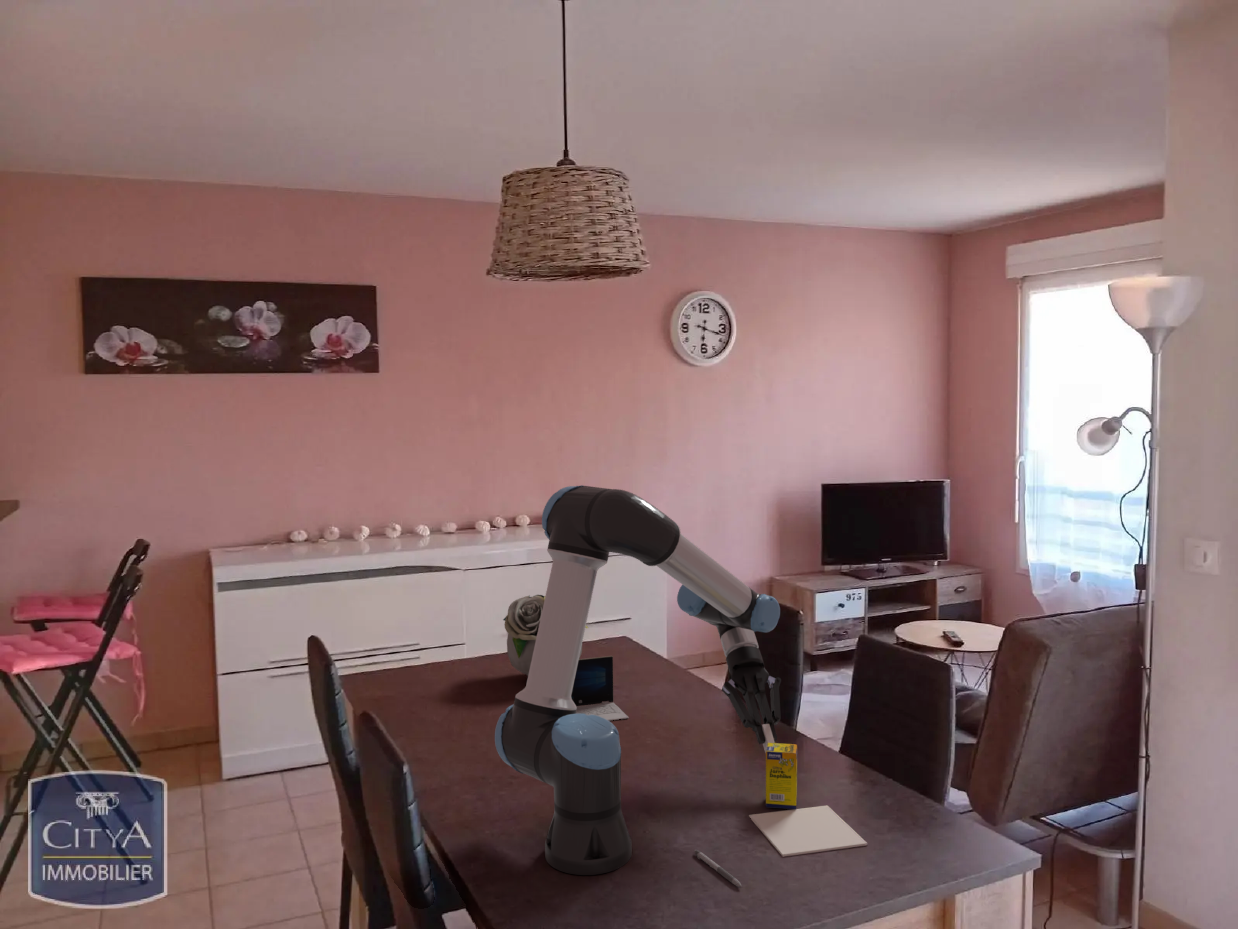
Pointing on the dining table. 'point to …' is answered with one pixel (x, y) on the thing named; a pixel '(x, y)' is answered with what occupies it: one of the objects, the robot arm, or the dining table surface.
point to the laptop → (596, 689)
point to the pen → (717, 868)
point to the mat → (806, 830)
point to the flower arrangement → (523, 630)
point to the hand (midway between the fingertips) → (772, 757)
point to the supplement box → (781, 775)
